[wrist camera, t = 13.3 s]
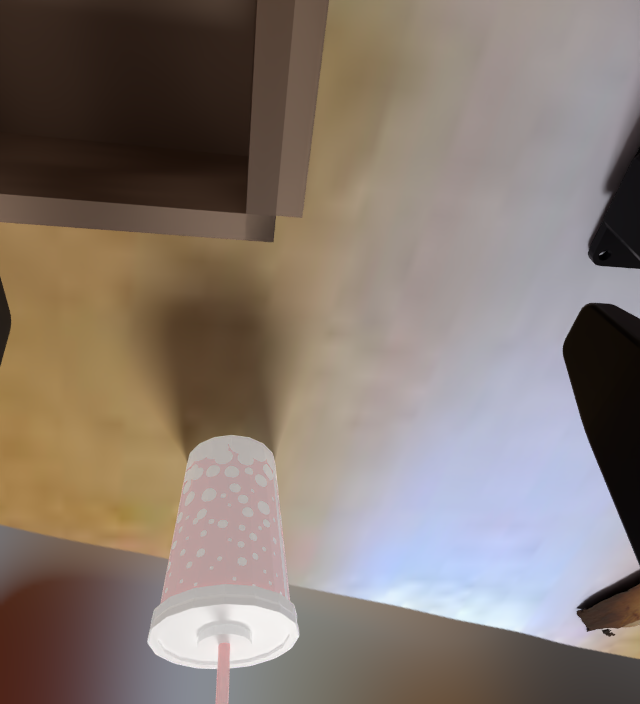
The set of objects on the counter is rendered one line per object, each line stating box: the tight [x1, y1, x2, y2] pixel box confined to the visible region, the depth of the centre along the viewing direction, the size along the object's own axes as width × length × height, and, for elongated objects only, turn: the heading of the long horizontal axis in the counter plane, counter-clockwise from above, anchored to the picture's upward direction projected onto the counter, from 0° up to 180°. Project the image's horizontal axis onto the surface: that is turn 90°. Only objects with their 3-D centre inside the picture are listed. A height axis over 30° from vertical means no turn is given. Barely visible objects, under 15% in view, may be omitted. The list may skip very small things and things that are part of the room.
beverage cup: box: [147, 435, 299, 704], centre depth 25 cm, size 6×6×14 cm
